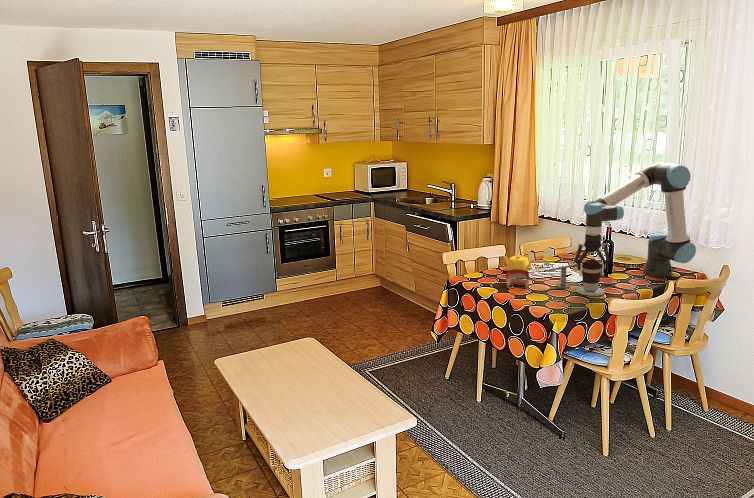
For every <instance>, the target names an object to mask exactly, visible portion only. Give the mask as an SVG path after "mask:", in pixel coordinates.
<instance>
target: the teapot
mask: <svg viewBox="0 0 754 498" xmlns="http://www.w3.org/2000/svg"><path fill="white" fill-rule="evenodd" d="M502 257H503V258H504V260H505V264H506V266H507V271H509V270H514V269H520V270H525V271H528V272H529V270H530V268H531V267H532V263H533V261H534V260H535V258H531V259H530V260H529V258H528V257H526V256H525V253H522V254H521V255H519V254H518V255H513V256H511V257H509V258H508V257H507V256H506V255H502Z"/></svg>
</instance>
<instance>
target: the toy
mask: <svg viewBox="0 0 754 498" xmlns="http://www.w3.org/2000/svg"><path fill="white" fill-rule="evenodd" d="M505 283H506V288H507V289H508V288H509V289H510V287H511V286H512V285H521V286H524V288H525V290H527V289H529V288H528V287H529V283H530V272H529V270H528V271H525V270H520V269H514V270H509V271H508V270H507V271H506V272H505Z"/></svg>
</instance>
